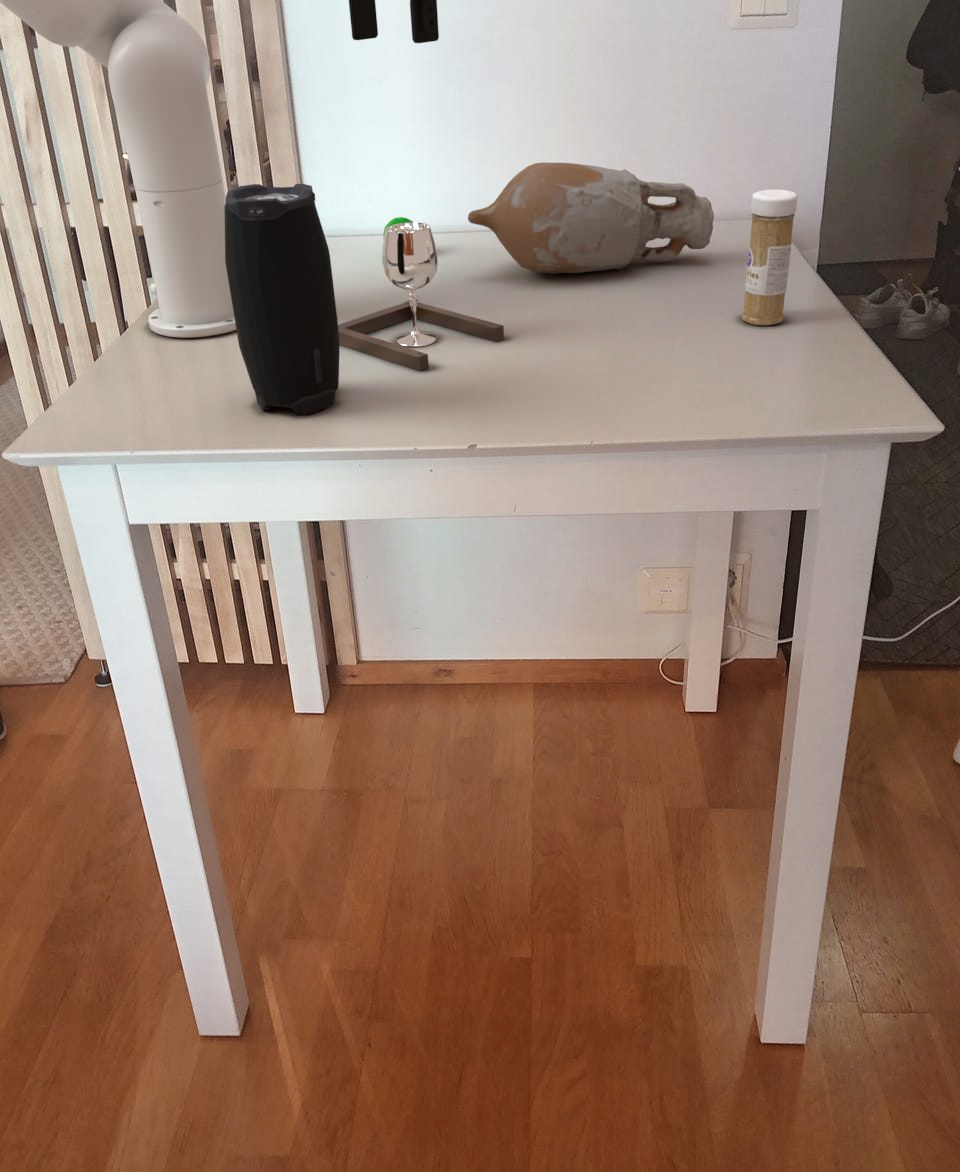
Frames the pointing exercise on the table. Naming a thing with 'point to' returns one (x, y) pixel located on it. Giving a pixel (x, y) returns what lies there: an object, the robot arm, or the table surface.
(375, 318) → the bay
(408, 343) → the wineglass
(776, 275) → the sprinkles bottle
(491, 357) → the table surface
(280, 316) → the portable speaker
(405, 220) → the polyhedron
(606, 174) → the amphora
